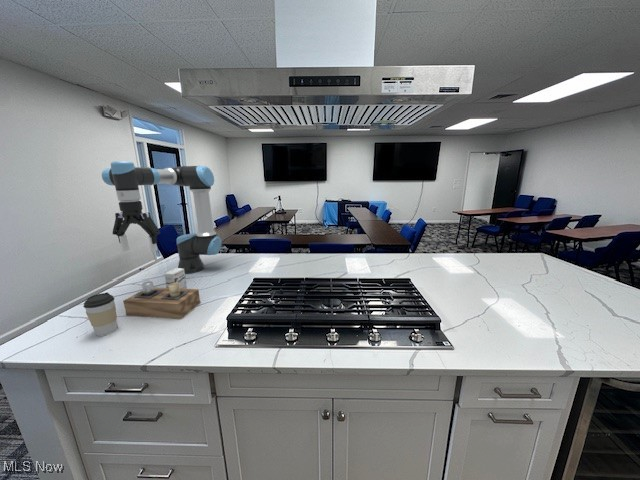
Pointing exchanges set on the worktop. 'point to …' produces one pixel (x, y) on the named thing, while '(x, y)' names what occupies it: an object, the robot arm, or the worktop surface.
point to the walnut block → (162, 303)
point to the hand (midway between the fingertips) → (140, 250)
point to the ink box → (176, 277)
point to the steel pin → (148, 288)
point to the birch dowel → (174, 289)
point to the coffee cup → (101, 313)
